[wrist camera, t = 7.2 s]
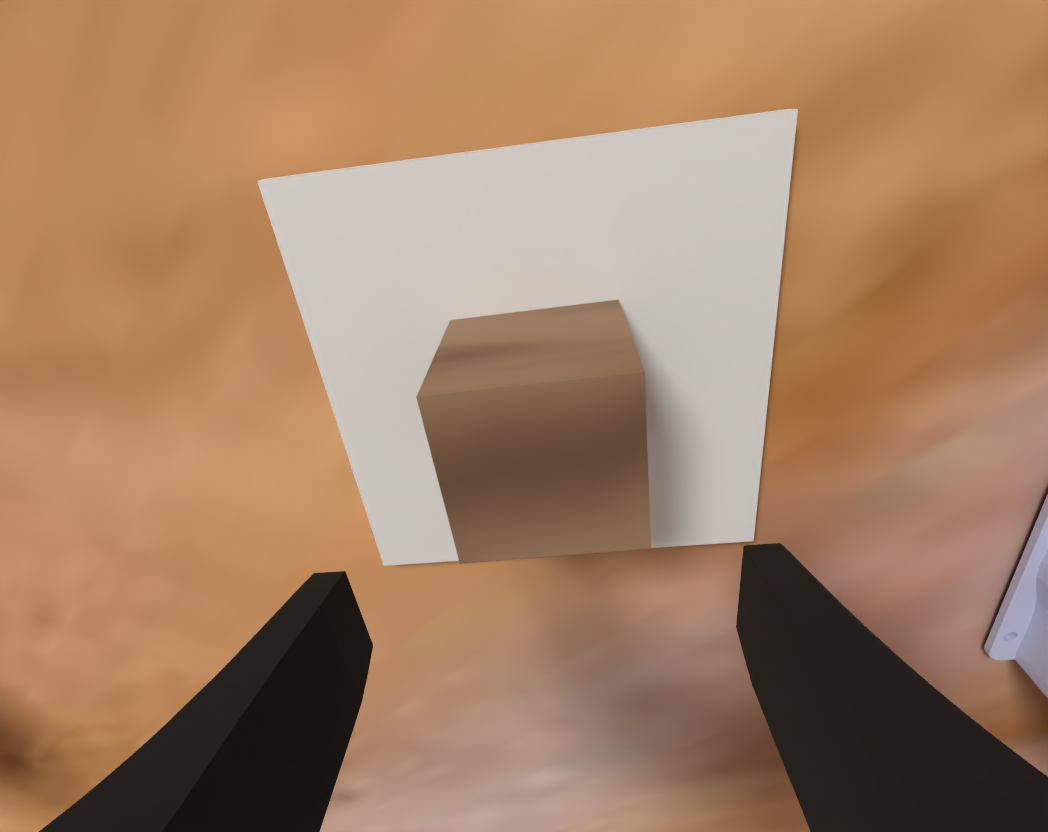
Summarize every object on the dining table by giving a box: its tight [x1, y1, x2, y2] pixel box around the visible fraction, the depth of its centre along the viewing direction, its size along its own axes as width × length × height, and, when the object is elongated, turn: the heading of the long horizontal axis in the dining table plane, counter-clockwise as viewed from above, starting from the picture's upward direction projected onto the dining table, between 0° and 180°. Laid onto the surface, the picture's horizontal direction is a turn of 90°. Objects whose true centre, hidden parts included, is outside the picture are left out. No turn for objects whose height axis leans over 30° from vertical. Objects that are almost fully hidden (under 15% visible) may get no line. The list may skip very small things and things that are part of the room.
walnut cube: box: [416, 300, 651, 564], centre depth 15 cm, size 5×5×5 cm
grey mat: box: [257, 109, 798, 566], centre depth 18 cm, size 14×14×1 cm
